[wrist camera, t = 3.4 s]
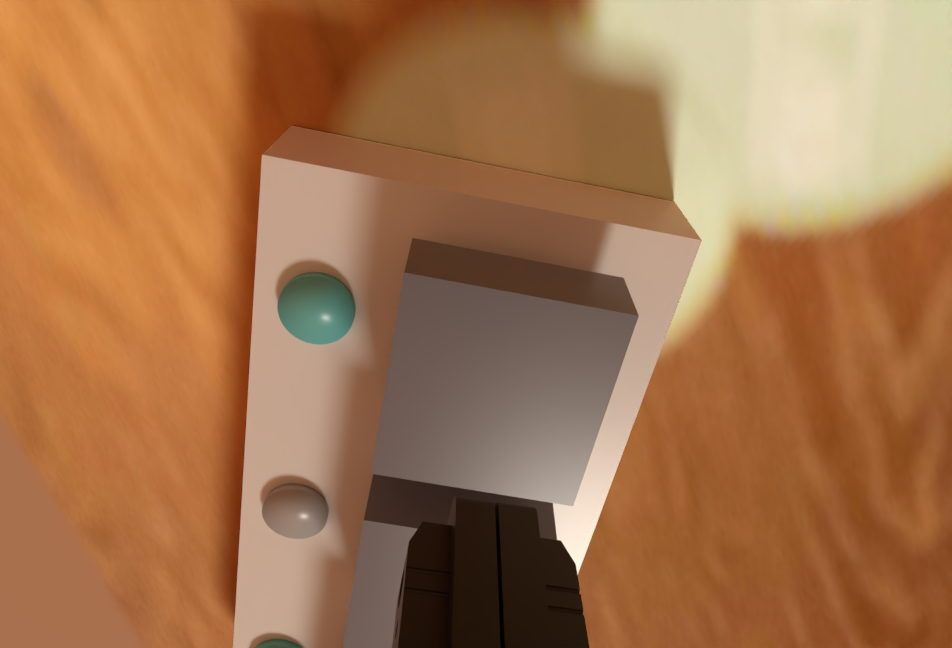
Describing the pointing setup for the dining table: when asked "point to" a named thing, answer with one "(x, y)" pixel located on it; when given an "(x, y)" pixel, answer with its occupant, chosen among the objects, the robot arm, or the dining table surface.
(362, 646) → the middle key
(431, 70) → the dining table surface
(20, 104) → the dining table surface
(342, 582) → the keypad
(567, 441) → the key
